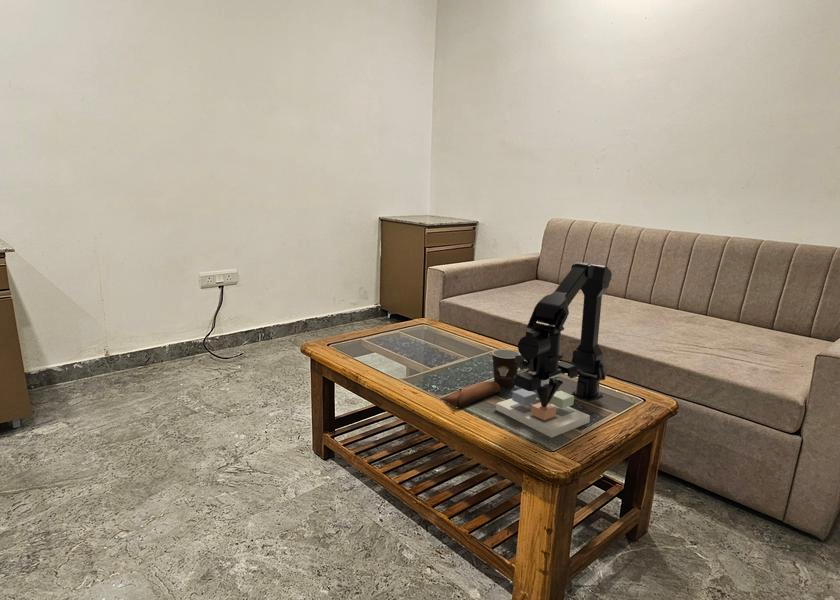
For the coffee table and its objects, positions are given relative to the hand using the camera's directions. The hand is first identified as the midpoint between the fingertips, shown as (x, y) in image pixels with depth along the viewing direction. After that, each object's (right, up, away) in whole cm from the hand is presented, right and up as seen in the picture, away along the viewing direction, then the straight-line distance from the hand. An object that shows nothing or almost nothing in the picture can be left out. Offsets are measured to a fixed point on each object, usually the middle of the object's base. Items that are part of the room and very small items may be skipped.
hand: (544, 406), depth 145 cm
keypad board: (+1, -4, +6) cm, 7 cm away
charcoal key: (+1, +1, +10) cm, 10 cm away
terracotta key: (0, -2, +1) cm, 2 cm away
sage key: (+6, 0, +4) cm, 7 cm away
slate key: (-4, 0, +6) cm, 7 cm away
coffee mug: (-5, +1, +27) cm, 28 cm away
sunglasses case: (-18, -1, +18) cm, 25 cm away
